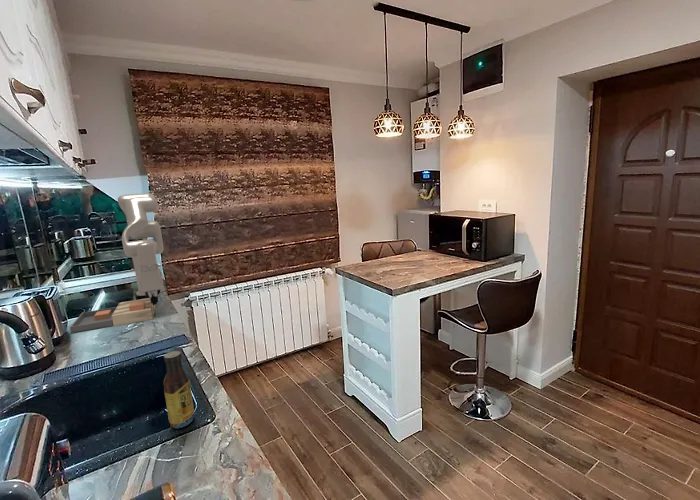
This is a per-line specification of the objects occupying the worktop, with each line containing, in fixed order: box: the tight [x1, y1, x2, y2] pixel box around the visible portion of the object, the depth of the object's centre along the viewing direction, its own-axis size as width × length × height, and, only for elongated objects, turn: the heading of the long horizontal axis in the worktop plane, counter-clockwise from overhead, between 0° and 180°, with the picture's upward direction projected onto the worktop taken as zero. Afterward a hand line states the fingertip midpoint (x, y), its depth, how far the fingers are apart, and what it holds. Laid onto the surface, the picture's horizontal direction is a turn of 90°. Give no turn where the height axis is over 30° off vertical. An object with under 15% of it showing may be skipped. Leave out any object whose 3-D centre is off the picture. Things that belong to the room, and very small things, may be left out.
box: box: [69, 306, 117, 334], centre depth 173 cm, size 20×16×3 cm
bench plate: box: [112, 297, 157, 327], centre depth 179 cm, size 20×16×5 cm
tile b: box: [129, 300, 146, 311], centre depth 174 cm, size 6×6×2 cm
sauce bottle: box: [163, 350, 195, 429], centre depth 95 cm, size 7×6×20 cm
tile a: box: [94, 310, 112, 321], centre depth 177 cm, size 6×6×2 cm
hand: (155, 303), depth 177 cm, fingers closed
